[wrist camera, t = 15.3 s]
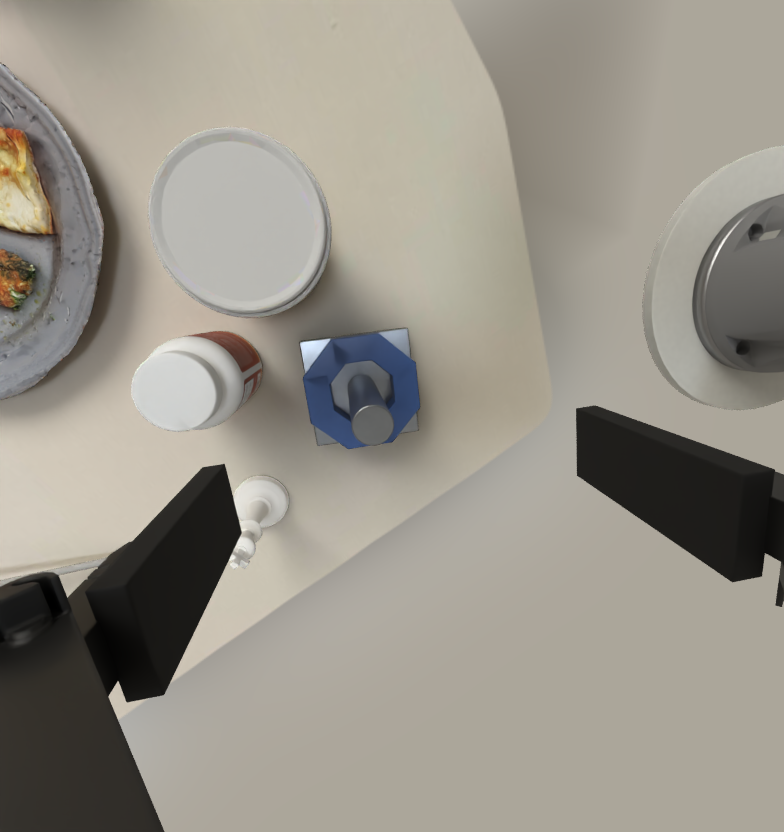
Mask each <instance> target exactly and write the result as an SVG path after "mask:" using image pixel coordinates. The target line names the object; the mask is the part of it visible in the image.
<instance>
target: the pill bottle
mask: <svg viewBox="0 0 784 832" xmlns="http://www.w3.org/2000/svg"><path fill="white" fill-rule="evenodd" d="M261 379H262V364H261V360H260V358H259V355H258V353H257V352H256V350H255V349H254V348H253V346H252V345H251V344H250V343H249V342H248V341H246V340H245V339H244V338H242V337H240V336H238V335H236V334H233V333H230V332H223V331H215V332H208V333H201V334H195V335H188V336H183V337H178V338H175V339H172V340H169V341H167V342H165V343H163V344H161V345H160V346H159V347H157V348H156V349H155V350H154V351H153V352H152V353H151V355H150V356H149V357H148V359H147V360H145V361H144V362H143V363H142V364H141V365H140V366H139V367H138V369H137V370H136V372H135V374H134V376H133V379H132V384H131V393H132V398H133V401H134V404H135V406H136V408H137V409H138V411H139V412H140V414H141V415H142V416H143V417H144V418H145V419H146V420H147V421H149V422H150V423H152V424H153V425H155V426H157V427H159V428H162V429H164V430H168V431H177V432H180V431H188V430H202V429H208V428H211V427H214V426H217V425H219V424H221V423H222V422H224V421H225V420H227V419H228V418H229V417H230V416H232V414H234V413H235V412H236V411H237V410H238V409H239V408H240V407H241V406H242V405H243V404H244V403H245V402H246V401H247V400H248V399H249V398H250V397H251V396H252V395H253V394H254V393H255V392H256V390H257V389H258V387H259V385H260V382H261Z"/></svg>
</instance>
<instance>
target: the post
mask: <svg viewBox="0 0 784 832" xmlns="http://www.w3.org/2000/svg"><path fill="white" fill-rule="evenodd" d="M376 332H377V333H379V334H380V335H382V336H383V337H384V338H386V339H387V340H388V341H389V342H391V343H392V344H393V345H394V346H396V347H397V348H398V349H399V350H401V351H402V352H403V353H404V354H406V355H407V356H408V357H409V358H411V353H410V344H409V334H408V328H398V329H390V330H382V331H374V332H366V333H359V334H351V335H343V336H335V337H327V338H319V339H312V340H304V341H300V342H299V344H300V350H301V355H302V361H303V367H304V372H305V373H306V372H307V371H308V369H309V368H310V367H311V365H312V364H313V363H314V361H315V360H316V359H317V357H318V356H319V354H320V353H321V352H322V350H323V349H324V348H325V346H326V345H327V344H328V342H329V341H330V340H331V338H336V337H344V336H352V335H360V334H368V333H376ZM331 387H332V393H333V400H334V405H335V406H337V407H338V408H339V409H341V410H342V411H344V412H345V413H346V414H348V415H349V416H351V426H352V431H353V434H354V436H355V437H356V439H357V440H358V441H360V442H361V443H363V444H365V445H370V446H375V445H379V444H382V443H384V442H385V441H386V440H388V439H389V437H390V436H391V434H392V432H393V429H394V420H393V417H392V415H391V413H390V411H389V409H388V407H387V405H386V404H387V403H388V401H389V400H390V399H391V398H392V390H391V382H390V374H389V373H388V372H386V371H385V370H384V369H383V368H381V367H380V366H379V365H377V364H376V363H375V362H373V361H372V360H370V361H363V362H355V363H348V364H345V365H344V367H343V368H342V369H341V371H340V372H339V373H338V375H337V376H336V377H335V379H334V380H333V381H332V383H331ZM314 429H315V435H316V441H317V445H318V446H321V445H328V444H334V443H339V442H337V441H336V440H334V439H333V438H331V437H330V436H329V435H327V434H326V433H324V432H323V431H321V430H320V429H318V428H317V427H315V426H314ZM418 430H419V429H418V419H417V412H416V413H415V414H414V416H413V417H412V418H411V419H410V421H409V422H408V423H407V425H406V426H405V427H404V428H403V430H402V431H401V432H400V433H406V432H413V431H418ZM400 433H399V434H400Z"/></svg>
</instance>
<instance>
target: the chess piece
mask: <svg viewBox="0 0 784 832" xmlns="http://www.w3.org/2000/svg"><path fill="white" fill-rule="evenodd" d="M233 499H234V503H235V507H236V511H237V515H238V518H239V519H240V520H241V522H239V523H240V527H241V531H242V534H241V536H240V538H239V540H238V542H237V544H236V546H235V548H234V550H233V552H232V555H231V557H230V560H231V561H232V562H231V564H230V567H231V568H233V569H236V568H237V567H238V566H241V567H243V568H244V569H245V568H246V567H247V566H248V565H249V562H250V561H249V560H248V559H250V558H251V557H252V556H253V555H254V553H255V550H256V545H255V543H256V542H257V541H258V540H259V539H260V538H261V536H262V532H263V531H262V527H268V526H271V525H274V524H275V523H277V522H278V521H280V520H281V519H282V517H283V516H284V514H285V513H286V511H287V509H288V506H289V496H288V493H287V490H286V489H285V487H284V486H283V485H282V484H281V483H280V482H279V481H277V480H276V479H274V478H271V477H268V476H254V477H251V478H248V479H246V480H245V481H243V482H242V483H241V484H240V485H239V486H238V487H237V489H236V491H235V494H234V498H233Z"/></svg>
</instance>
